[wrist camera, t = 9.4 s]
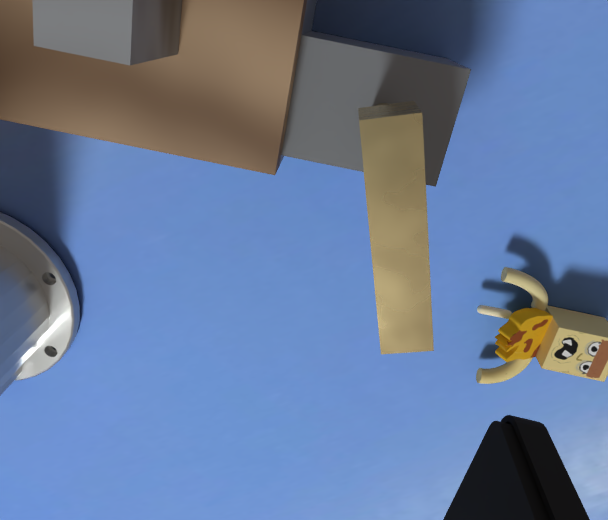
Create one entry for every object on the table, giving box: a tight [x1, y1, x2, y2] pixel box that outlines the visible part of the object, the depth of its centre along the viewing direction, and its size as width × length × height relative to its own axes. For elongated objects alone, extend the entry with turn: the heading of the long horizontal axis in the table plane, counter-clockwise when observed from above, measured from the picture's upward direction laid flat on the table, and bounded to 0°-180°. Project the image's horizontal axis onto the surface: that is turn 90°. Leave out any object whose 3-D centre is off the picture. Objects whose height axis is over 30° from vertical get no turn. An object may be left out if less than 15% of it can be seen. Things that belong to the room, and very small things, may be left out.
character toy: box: [476, 267, 608, 384], centre depth 32 cm, size 8×3×8 cm
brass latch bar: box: [358, 101, 434, 354], centre depth 21 cm, size 2×9×6 cm, turn 8°
